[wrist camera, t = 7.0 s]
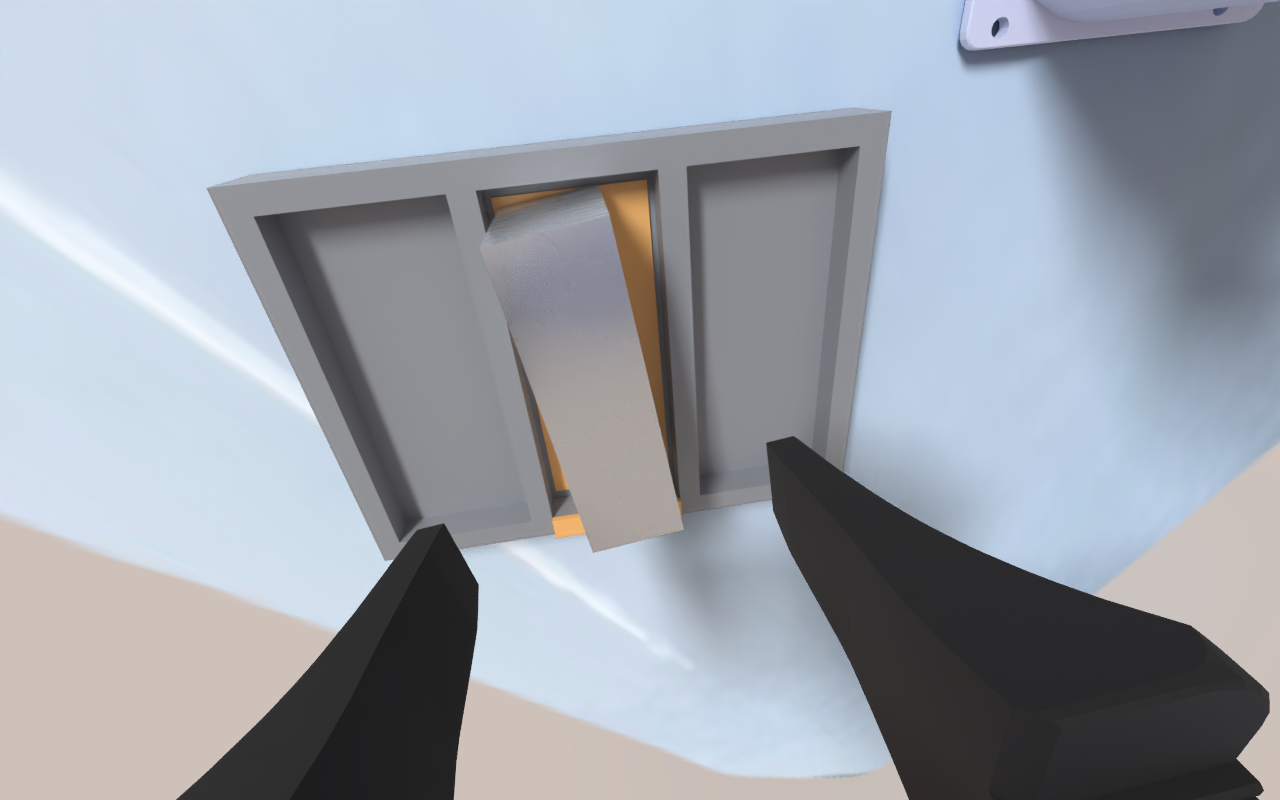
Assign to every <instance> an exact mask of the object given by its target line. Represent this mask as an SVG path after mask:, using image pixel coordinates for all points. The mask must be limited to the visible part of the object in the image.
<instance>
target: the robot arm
mask: <svg viewBox="0 0 1280 800" xmlns="http://www.w3.org/2000/svg"><path fill="white" fill-rule="evenodd" d="M1278 1H1280V0H966V1H965V7H964V12H963V18H962V23H961V29H960V42H961V45H962V47H964V48H965V49H966V50H971V51H975V50H985V49H995V48H1004V47H1013V46H1023V45H1032V44H1042V43H1051V42H1061V41H1070V40H1080V39H1089V38H1099V37H1108V36H1117V35H1127V34H1136V33H1146V32H1155V31H1165V30H1174V29H1184V28H1193V27H1202V26H1212V25H1221V24H1231V23H1240V22H1245V21H1248V20H1250V19H1251V18H1253V17H1254V16H1255V15H1256V14H1257V13H1258V12H1259V11H1260V10H1261V9H1262V7H1263V6H1264V4H1265V3H1269V2H1278ZM1213 9H1214V11H1213ZM996 20H998V21H999V30H998V33H997V34H996V36H995V37H993V36H992V33H991V29H992V26H993V24H994V22H995V21H996ZM766 447H767V456H768V466H769V475H770V484H771V494H772V503H773V511H774V514H775V516H776V519H777V521H778V524H779V526H780V529H781V531H782V534H783V536H784V539H785V541H786V543H787V546H788V548H789V550H790V552H791V554H792V556H793V558H794V560H795V562H796V564H797V565H798V567H799V569H800V571H801V573H802V574H803V576H804V578H805V580H806V582H807V583H808V585H809V587H810V589H811V591H812V592H813V594H814V596H815V598H816V600H817V601H818V603H819V605H820V607H821V609H822V610H823V612H824V614H825V616H826V617H827V619H828V621H829V623H830V625H831V626H832V628H833V630H834V632H835V634H836V635H837V637H838V639H839V641H840V643H841V645H842V647H843V649H844V651H845V653H846V654H847V656H848V658H849V660H850V662H851V665H852V667H853V669H854V671H855V674H856V676H857V678H858V680H859V683H860V685H861V687H862V690H863V692H864V694H865V696H866V699H867V701H868V703H869V705H870V708H871V710H872V712H873V715H874V717H875V719H876V722H877V724H878V726H879V729H880V731H881V733H882V736H883V738H884V740H885V743H886V745H887V747H888V750H889V752H890V754H891V757H892V759H893V762H894V764H895V766H896V769H897V771H898V774H899V776H900V779H901V781H902V784H903V786H904V788H905V791H906V793H907V796H908V798H909V800H1259V799H1258V798H1257V797H1256V796H1259V795H1260V794H1261V793H1262V792H1263V791H1264V790H1263V788H1262V786H1261V783H1260V782H1259V781H1258V780H1257V779H1256V778H1255V777H1254V776H1253V775H1252V774H1251V773H1250V772H1249V771H1248V770H1247V769H1246V768H1245V767H1244V766H1243V765H1242V764H1241V763H1240V762H1239V761H1238V760H1237V759H1236V758H1237V757H1238V756H1239V754H1240V753H1241V752H1242V751H1243V749H1244V748H1245V746H1246V745H1247V744H1248V743H1249V741H1250V740H1251V739H1252V738H1253V736H1254V735H1255V734H1256V732H1257V731H1258V730H1259V729H1260V727H1261V726H1262V725H1263V723H1264V721H1265V719H1266V717H1267V716H1268V714H1269V711H1270V710H1269V709H1270V707H1269V706H1270V705H1269V704H1270V700H1269V693H1268V691H1267V690H1266V689H1265V688H1264V687H1263V686H1262V685H1261V684H1260V683H1258V682H1257V681H1256V680H1255V679H1254V678H1253V677H1251V675H1249V674H1248V673H1247V672H1246V671H1245V670H1244V669H1243V668H1241V667H1240V666H1239V665H1238V664H1237V663H1236V662H1235V661H1233V660H1232V659H1231V658H1230V657H1229V656H1228V655H1227V654H1225V653H1224V652H1223V651H1222V650H1221V649H1219V648H1218V647H1217V646H1216V645H1215V644H1213V643H1212V642H1211V641H1210V640H1208V639H1207V638H1206V637H1205V636H1204V635H1202V634H1201V633H1200V632H1198V631H1197V630H1196V629H1194V628H1193V627H1192V626H1190V625H1187V624H1184V623H1180V622H1177V621H1173V620H1170V619H1167V618H1164V617H1161V616H1157V615H1154V614H1150V613H1147V612H1144V611H1141V610H1137V609H1134V608H1131V607H1128V606H1124V605H1121V604H1118V603H1114V602H1111V601H1108V600H1104V599H1102V598H1099V597H1096V596H1093V595H1090V594H1087V593H1085V592H1082V591H1079V590H1076V589H1073V588H1071V587H1068V586H1065V585H1062V584H1059V583H1056V582H1054V581H1051V580H1048V579H1046V578H1043V577H1041V576H1038V575H1036V574H1033V573H1030V572H1028V571H1025V570H1023V569H1020V568H1018V567H1016V566H1013V565H1011V564H1009V563H1006V562H1004V561H1002V560H999V559H997V558H995V557H992V556H990V555H988V554H985V553H983V552H981V551H979V550H976V549H974V548H972V547H970V546H968V545H966V544H964V543H961V542H959V541H957V540H955V539H954V538H952V537H950V536H948V535H946V534H944V533H942V532H940V531H938V530H936V529H934V528H932V527H930V526H928V525H926V524H924V523H922V522H921V521H919V520H917V519H915V518H914V517H912V516H910V515H908V514H907V513H905V512H903V511H902V510H900V509H898V508H897V507H895V506H893V505H892V504H890V503H889V502H887V501H885V500H884V499H882V498H881V497H879V496H877V495H876V494H874V493H873V492H871V491H870V490H868V489H867V488H865V487H864V486H862V485H861V484H859V483H858V482H856V481H855V480H854V479H852V478H851V477H849V476H848V475H846V474H845V473H843V472H842V471H841V470H839V469H838V468H836V467H835V466H834V465H832V464H831V463H830V462H828V461H827V460H825V459H824V458H823V457H821V456H820V455H819V454H817V453H816V452H815V451H814V450H812V449H811V448H810V447H808V446H807V445H806V444H804V443H803V442H802V441H800V440H799V439H798V438H796V437H794V436H791V437H787V438H783V439H779V440H775V441H771V442H767V443H766ZM478 587H479V585H478V583H477V581H476V579H475V577H474V576H473V574H472V572H471V570H470V568H469V567H468V565H467V563H466V561H465V559H464V558H463V556H462V554H461V552H460V551H459V549H458V547H457V545H456V543H455V542H454V540H453V538H452V536H451V534H450V533H449V531H448V529H447V527H446V526H445V524H444V523H442V524H438V525H434V526H430V527H426V528H422V529H418V530H417V531H416V532H415V533H414V534H413V535H412V537H411V538H410V539H409V541H408V542H407V543H406V544H405V546H404V547H403V548H402V550H401V551H400V553H399V554H398V555H397V557H396V558H395V559H394V561H393V562H392V563H391V565H390V566H389V567H388V569H387V570H386V571H385V573H384V574H383V576H382V577H381V578H380V580H379V581H378V582H377V584H376V585H375V586H374V588H373V589H372V590H371V592H370V593H369V594H368V596H367V597H366V598H365V600H364V601H363V602H362V603H361V605H360V606H359V607H358V609H357V610H356V611H355V613H354V614H353V615H352V617H351V618H350V619H349V620H348V621H347V623H346V624H345V625H344V626H343V628H342V629H341V630H340V631H339V632H338V634H337V635H336V636H335V637H334V639H333V640H332V641H331V642H330V644H329V645H328V646H327V647H326V649H325V650H324V651H323V652H322V653H321V655H320V656H319V657H318V658H317V660H316V661H315V662H314V663H313V664H312V665H311V666H310V668H309V669H308V670H307V671H306V672H305V673H304V674H303V676H302V677H301V678H300V679H299V680H298V681H297V683H295V685H294V686H293V687H292V688H291V689H290V690H289V691H288V692H287V693H286V694H285V695H284V696H283V697H282V698H281V699H280V700H279V702H278V703H277V704H276V705H275V706H274V707H273V708H272V709H271V710H270V711H269V712H268V713H267V714H266V715H265V716H264V717H263V718H262V720H260V721H259V722H258V723H257V724H256V725H255V726H254V727H253V728H252V729H251V730H250V731H249V732H248V733H247V734H246V735H245V736H244V737H243V738H242V739H241V740H240V741H239V742H238V743H237V744H236V745H235V746H234V747H233V748H231V749H230V750H229V751H228V752H227V753H226V754H225V755H224V756H223V757H222V758H221V759H220V760H219V761H218V762H217V763H216V764H215V765H214V766H213V767H212V768H211V769H210V770H209V771H208V772H206V773H205V774H204V775H203V776H202V777H201V778H200V779H199V780H198V781H197V782H196V783H194V784H193V785H192V786H191V787H190V788H189V789H188V790H186V792H184V793H183V794H182V795H181V796H180V797H179V798H178V799H176V800H454V787H455V773H456V760H457V752H458V744H459V737H460V730H461V725H462V718H463V713H464V706H465V701H466V695H467V689H468V683H469V677H470V671H471V665H472V659H473V653H474V647H475V640H476V634H477V621H478Z"/></svg>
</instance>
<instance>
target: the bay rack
mask: <svg viewBox="0 0 1280 800" xmlns="http://www.w3.org/2000/svg"><path fill="white" fill-rule="evenodd" d="M891 112H892V111H885V110H873V109H862V108H849V109H840V110H831V111H822V112H813V113H804V114H795V115H786V116H777V117H768V118H759V119H750V120H741V121H732V122H723V123H714V124H705V125H696V126H687V127H678V128H669V129H660V130H651V131H642V132H633V133H624V134H615V135H606V136H597V137H588V138H579V139H570V140H561V141H552V142H543V143H534V144H525V145H516V146H507V147H498V148H489V149H480V150H471V151H463V152H454V153H445V154H436V155H427V156H418V157H409V158H400V159H391V160H382V161H373V162H364V163H355V164H346V165H337V166H328V167H319V168H310V169H301V170H292V171H283V172H274V173H265V174H256V175H248V176H245V177H242V178H238V179H235V180H232V181H228V182H225V183H222V184H218V185H215V186H212V187H208V188H207V190H208V192H209V194H210V196H211V198H212V201H213V203H214V205H215V207H216V209H217V211H218V213H219V215H220V217H221V219H222V221H223V224H224V226H225V228H226V230H227V232H228V234H229V236H230V238H231V240H232V242H233V244H234V247H235V249H236V251H237V253H238V255H239V257H240V259H241V261H242V263H243V265H244V267H245V269H246V272H247V274H248V276H249V278H250V280H251V282H252V284H253V286H254V288H255V290H256V292H257V295H258V297H259V299H260V301H261V303H262V305H263V307H264V309H265V311H266V313H267V315H268V318H269V320H270V322H271V324H272V326H273V328H274V330H275V332H276V334H277V336H278V338H279V340H280V343H281V345H282V347H283V349H284V351H285V353H286V355H287V357H288V359H289V361H290V363H291V366H292V368H293V370H294V372H295V374H296V376H297V378H298V380H299V382H300V384H301V386H302V389H303V391H304V393H305V395H306V397H307V399H308V401H309V403H310V405H311V407H312V409H313V411H314V414H315V416H316V418H317V420H318V422H319V424H320V426H321V428H322V430H323V432H324V434H325V437H326V439H327V441H328V443H329V445H330V447H331V449H332V451H333V453H334V455H335V457H336V460H337V462H338V464H339V466H340V468H341V470H342V472H343V474H344V476H345V478H346V480H347V482H348V485H349V487H350V489H351V491H352V493H353V495H354V497H355V499H356V501H357V503H358V505H359V508H360V510H361V512H362V514H363V516H364V518H365V520H366V522H367V524H368V526H369V528H370V531H371V533H372V535H373V537H374V539H375V541H376V543H377V545H378V547H379V549H380V551H381V553H382V556H383V558H384V560H385V561H387V560H393V559H395V558H396V557H397V555H398V554H399V553H400V551H401V550H402V548H403V547H404V546H405V544H406V543H407V542H408V541H409V539H410V538H411V537H412V535H413V534H414V533H415V532H416V531H417V530H418V529H422V528H426V527H430V526H434V525H438V524H442V523H444V524H445V526H446V527H447V529H448V531H449V533H450V534H451V536H452V538H453V540H454V542H455V543H456V545H457V547H458V549H462V548H469V547H475V546H481V545H488V544H494V543H500V542H507V541H513V540H519V539H526V538H532V537H538V536H544V535H551V534H555V535H556V538H561V537H567V536H574V535H580V534H586V532H585V530H584V527H583V524H582V522H581V519H580V516H579V514H578V511H577V508H576V506H575V503H574V500H573V498H572V495H571V492H570V490H569V487H568V484H567V481H566V479H565V476H564V473H563V471H562V468H561V465H560V463H559V460H558V457H557V455H556V452H555V449H554V447H553V444H552V441H551V439H550V436H549V433H548V431H547V428H546V425H545V423H544V420H543V417H542V415H541V412H540V409H539V407H538V404H537V401H536V399H535V396H534V393H533V391H532V388H531V385H530V383H529V380H528V377H527V375H526V372H525V369H524V367H523V364H522V361H521V358H520V356H519V353H518V350H517V348H516V345H515V342H514V340H513V337H512V334H511V332H510V329H509V326H508V324H507V321H506V318H505V316H504V313H503V310H502V308H501V305H500V302H499V300H498V297H497V294H496V292H495V289H494V286H493V284H492V281H491V278H490V276H489V273H488V270H487V268H486V265H485V262H484V260H483V257H482V254H481V252H480V249H479V247H480V245H481V243H482V241H483V239H484V237H485V235H486V233H487V231H488V229H489V227H490V224H491V222H492V220H493V218H494V216H495V214H496V212H497V210H498V208H500V207H503V206H507V205H511V204H515V203H519V202H523V201H527V200H531V199H535V198H539V197H543V196H547V195H551V194H555V193H559V192H563V191H567V190H571V189H575V188H579V187H583V186H587V185H591V184H595V183H598V186H599V188H600V191H601V194H602V196H603V199H604V202H605V204H606V207H607V210H608V212H609V215H610V219H611V223H612V228H613V232H614V236H615V240H616V244H617V249H618V253H619V257H620V261H621V266H622V270H623V274H624V278H625V282H626V287H627V291H628V295H629V299H630V304H631V308H632V312H633V316H634V320H635V325H636V329H637V333H638V337H639V342H640V346H641V350H642V354H643V358H644V363H645V367H646V371H647V375H648V380H649V384H650V388H651V392H652V396H653V401H654V405H655V409H656V413H657V418H658V422H659V426H660V430H661V434H662V439H663V443H664V447H665V451H666V456H667V460H668V464H669V468H670V472H671V477H672V481H673V485H674V489H675V494H676V498H677V502H678V506H679V510H680V515H681V518H682V514H683V513H690V512H696V511H702V510H709V509H715V508H721V507H728V506H734V505H740V504H746V503H753V502H759V501H765V500H772V494H771V484H770V475H769V466H768V456H767V447H766V443H767V442H771V441H775V440H779V439H783V438H787V437H791V436H794V437H796V438H798V439H799V440H800V441H802V442H803V443H804V444H806V445H807V446H808V447H810V448H811V449H812V450H814V451H815V452H816V453H817V454H819V455H820V456H821V457H823V458H824V459H825V460H827V461H828V462H830V463H831V464H832V465H834V466H835V467H836V468H838V469H839V470H841V471H842V472H843V467H844V459H845V452H846V445H847V437H848V430H849V422H850V415H851V408H852V400H853V393H854V385H855V378H856V371H857V363H858V356H859V349H860V341H861V334H862V326H863V319H864V312H865V304H866V297H867V289H868V282H869V275H870V267H871V260H872V252H873V245H874V238H875V230H876V223H877V216H878V208H879V201H880V193H881V186H882V179H883V171H884V164H885V156H886V149H887V142H888V134H889V127H890V119H891Z"/></svg>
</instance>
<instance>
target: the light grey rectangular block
mask: <svg viewBox="0 0 1280 800" xmlns="http://www.w3.org/2000/svg"><path fill="white" fill-rule="evenodd" d="M479 249H480V252H481V254H482V257H483V260H484V262H485V265H486V268H487V270H488V273H489V276H490V278H491V281H492V284H493V286H494V289H495V292H496V294H497V297H498V300H499V302H500V305H501V308H502V310H503V313H504V316H505V318H506V321H507V324H508V326H509V329H510V332H511V334H512V337H513V340H514V342H515V345H516V348H517V350H518V353H519V356H520V358H521V361H522V364H523V367H524V369H525V372H526V375H527V377H528V380H529V383H530V385H531V388H532V391H533V393H534V396H535V399H536V401H537V404H538V407H539V409H540V412H541V415H542V417H543V420H544V423H545V425H546V428H547V431H548V433H549V436H550V439H551V441H552V444H553V447H554V449H555V452H556V455H557V457H558V460H559V463H560V465H561V468H562V471H563V473H564V476H565V479H566V481H567V484H568V487H569V490H570V492H571V495H572V498H573V500H574V503H575V506H576V508H577V511H578V514H579V516H580V519H581V522H582V524H583V527H584V530H585V532H586V535H587V538H588V540H589V543H590V546H591V548H592V551H593V553H594V552H598V551H602V550H606V549H610V548H614V547H618V546H622V545H626V544H630V543H634V542H638V541H642V540H645V539H649V538H653V537H657V536H661V535H665V534H669V533H673V532H677V531H681V530H684V527H683V523H682V519H681V515H680V510H679V506H678V502H677V498H676V494H675V489H674V485H673V481H672V477H671V472H670V468H669V464H668V460H667V456H666V451H665V447H664V443H663V439H662V434H661V430H660V426H659V422H658V418H657V413H656V409H655V405H654V401H653V396H652V392H651V388H650V384H649V380H648V375H647V371H646V367H645V363H644V358H643V354H642V350H641V346H640V342H639V337H638V333H637V329H636V325H635V320H634V316H633V312H632V308H631V304H630V299H629V295H628V291H627V287H626V282H625V278H624V274H623V270H622V266H621V261H620V257H619V253H618V249H617V244H616V240H615V236H614V232H613V228H612V223H611V219H610V215H609V212H608V210H607V207H606V204H605V202H604V199H603V196H602V194H601V191H600V188H599V186H598V183H595V184H591V185H587V186H583V187H579V188H575V189H571V190H567V191H563V192H559V193H555V194H551V195H547V196H543V197H539V198H535V199H531V200H527V201H523V202H519V203H515V204H511V205H507V206H503V207H500V208H498V210H497V212H496V214H495V216H494V218H493V220H492V222H491V224H490V227H489V229H488V231H487V233H486V235H485V237H484V239H483V241H482V243H481V245H480V247H479Z"/></svg>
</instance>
